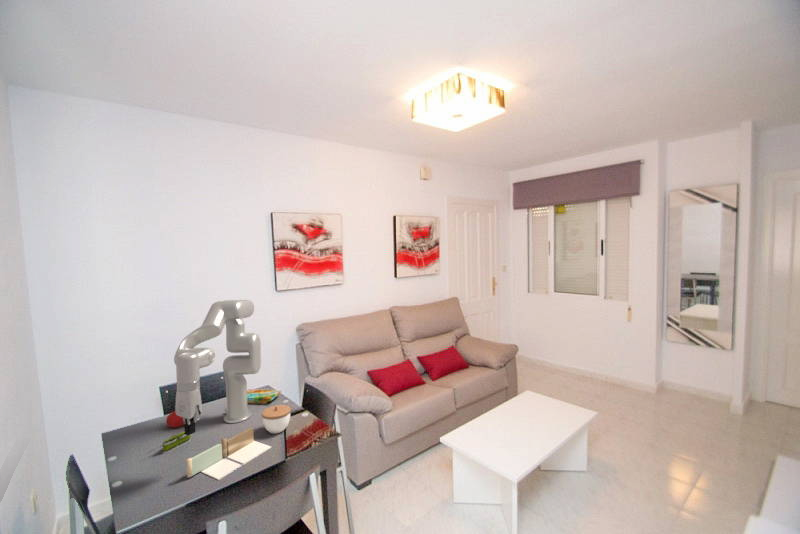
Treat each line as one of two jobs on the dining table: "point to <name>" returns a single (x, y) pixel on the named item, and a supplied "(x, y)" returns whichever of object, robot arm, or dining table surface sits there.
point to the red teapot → (174, 420)
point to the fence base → (236, 442)
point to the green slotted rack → (174, 442)
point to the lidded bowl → (276, 418)
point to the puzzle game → (261, 396)
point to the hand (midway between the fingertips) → (190, 433)
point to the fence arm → (204, 460)
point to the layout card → (235, 460)
